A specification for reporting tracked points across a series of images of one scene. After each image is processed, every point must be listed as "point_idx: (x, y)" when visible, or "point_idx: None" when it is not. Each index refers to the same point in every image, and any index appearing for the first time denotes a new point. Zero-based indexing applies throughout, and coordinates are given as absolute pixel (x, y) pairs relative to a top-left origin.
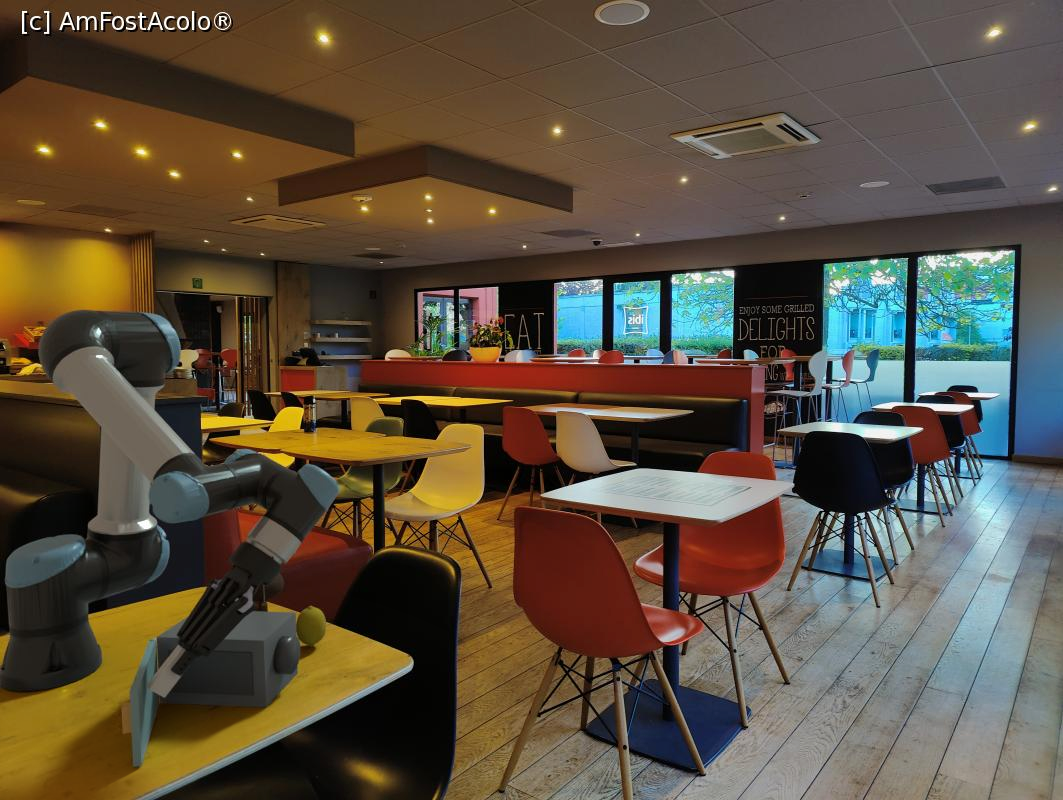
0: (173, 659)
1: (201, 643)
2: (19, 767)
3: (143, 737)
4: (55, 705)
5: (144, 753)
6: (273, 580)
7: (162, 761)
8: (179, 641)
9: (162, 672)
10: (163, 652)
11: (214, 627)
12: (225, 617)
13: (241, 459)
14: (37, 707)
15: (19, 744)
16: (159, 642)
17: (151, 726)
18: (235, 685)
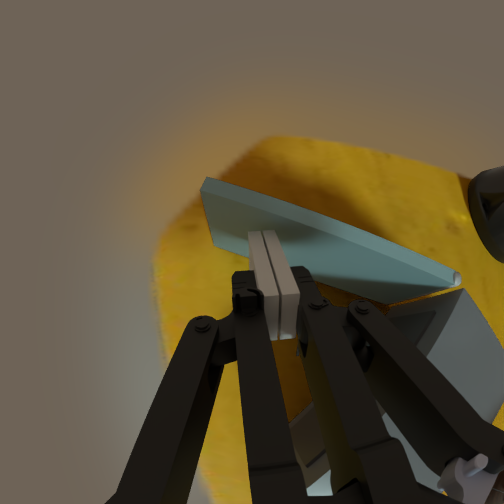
0: (257, 273)
1: (182, 341)
2: (314, 146)
3: (239, 245)
4: (437, 201)
5: (241, 254)
6: (498, 499)
7: (211, 272)
8: (314, 299)
9: (254, 251)
10: (438, 304)
11: (157, 398)
12: (134, 452)
13: None
14: (439, 187)
15: (367, 156)
16: (454, 294)
17: (312, 277)
18: (315, 415)
